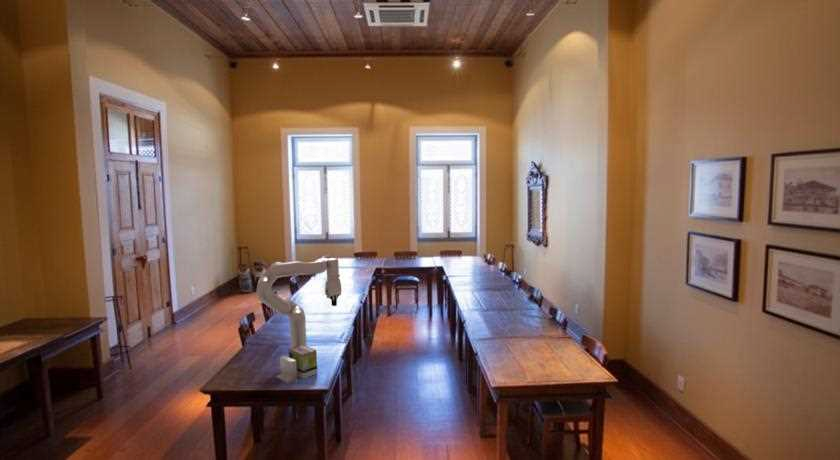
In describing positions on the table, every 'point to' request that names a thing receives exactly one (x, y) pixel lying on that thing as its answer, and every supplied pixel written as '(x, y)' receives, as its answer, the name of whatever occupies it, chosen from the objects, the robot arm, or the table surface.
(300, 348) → the tea box
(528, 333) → the table surface
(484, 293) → the table surface
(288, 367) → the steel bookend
